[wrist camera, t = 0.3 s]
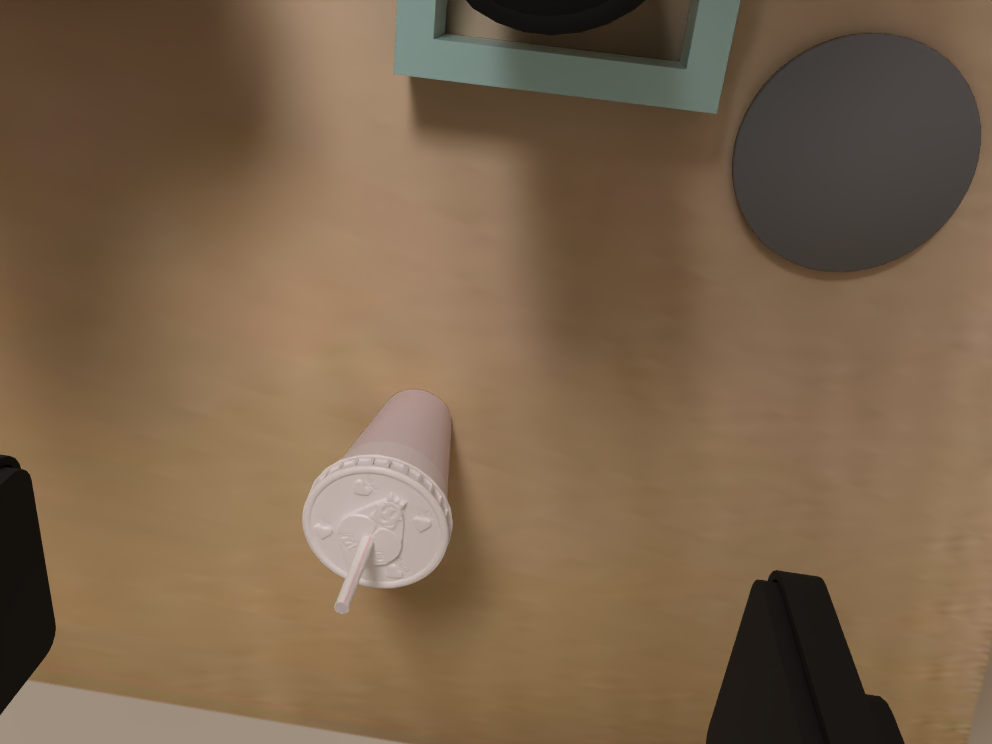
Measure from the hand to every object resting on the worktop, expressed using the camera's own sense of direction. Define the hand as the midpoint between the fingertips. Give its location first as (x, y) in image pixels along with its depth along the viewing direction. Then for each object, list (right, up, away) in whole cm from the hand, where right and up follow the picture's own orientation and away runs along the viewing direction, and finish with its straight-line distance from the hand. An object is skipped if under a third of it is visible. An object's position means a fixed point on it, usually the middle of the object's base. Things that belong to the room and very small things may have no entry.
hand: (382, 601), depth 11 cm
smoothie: (-3, 0, +34) cm, 34 cm away
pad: (+17, +12, +26) cm, 33 cm away
